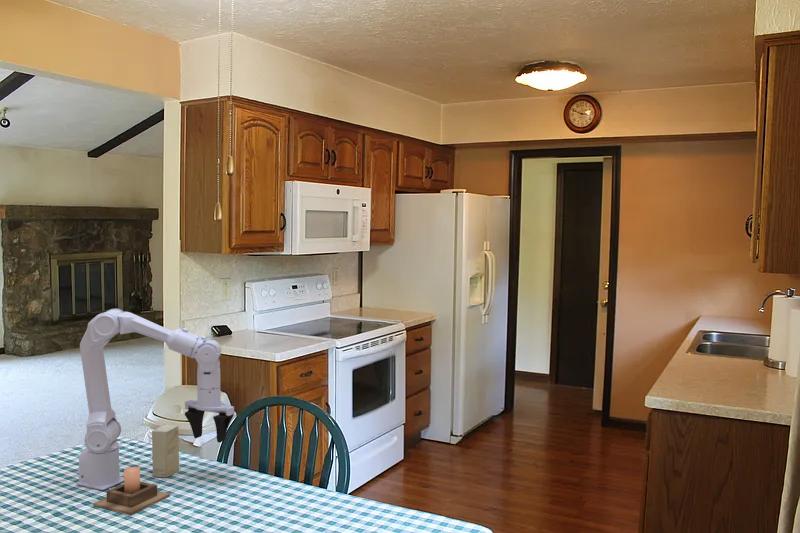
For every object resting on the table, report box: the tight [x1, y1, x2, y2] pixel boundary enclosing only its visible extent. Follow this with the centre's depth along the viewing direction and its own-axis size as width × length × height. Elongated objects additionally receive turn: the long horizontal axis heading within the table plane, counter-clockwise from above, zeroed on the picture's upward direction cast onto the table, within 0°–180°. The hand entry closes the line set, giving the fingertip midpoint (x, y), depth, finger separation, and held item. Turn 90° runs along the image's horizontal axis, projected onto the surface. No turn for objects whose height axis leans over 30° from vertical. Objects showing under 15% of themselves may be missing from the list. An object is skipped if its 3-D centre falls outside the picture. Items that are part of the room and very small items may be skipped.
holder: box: [92, 480, 171, 516], centre depth 157 cm, size 12×12×3 cm
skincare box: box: [151, 424, 180, 478], centre depth 175 cm, size 6×4×12 cm
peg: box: [123, 466, 141, 494], centre depth 157 cm, size 4×4×7 cm
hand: (209, 439), depth 171 cm, fingers open, 7 cm apart
